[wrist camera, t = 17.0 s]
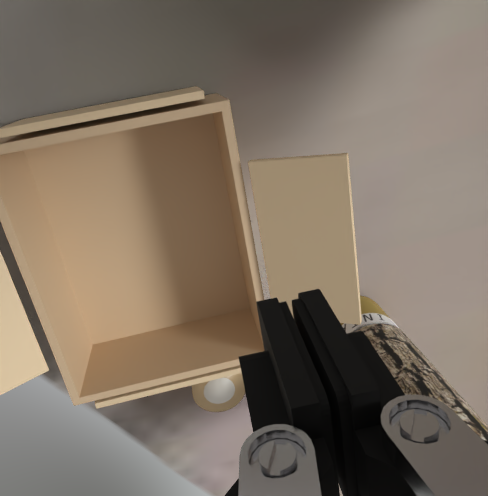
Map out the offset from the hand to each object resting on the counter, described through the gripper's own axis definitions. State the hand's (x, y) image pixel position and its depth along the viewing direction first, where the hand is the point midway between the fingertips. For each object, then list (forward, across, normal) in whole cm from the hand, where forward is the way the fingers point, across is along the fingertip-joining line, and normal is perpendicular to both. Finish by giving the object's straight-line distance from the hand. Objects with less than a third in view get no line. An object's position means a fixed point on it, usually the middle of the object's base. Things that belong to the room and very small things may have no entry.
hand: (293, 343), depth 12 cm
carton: (+28, +7, +6) cm, 30 cm away
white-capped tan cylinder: (+28, +4, +20) cm, 35 cm away
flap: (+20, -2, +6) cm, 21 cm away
